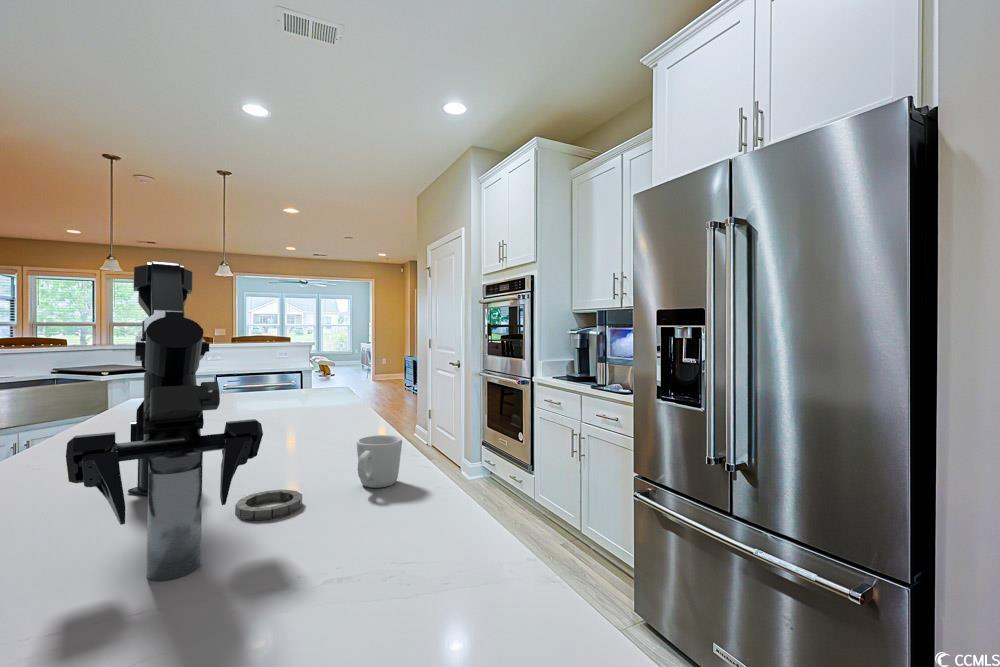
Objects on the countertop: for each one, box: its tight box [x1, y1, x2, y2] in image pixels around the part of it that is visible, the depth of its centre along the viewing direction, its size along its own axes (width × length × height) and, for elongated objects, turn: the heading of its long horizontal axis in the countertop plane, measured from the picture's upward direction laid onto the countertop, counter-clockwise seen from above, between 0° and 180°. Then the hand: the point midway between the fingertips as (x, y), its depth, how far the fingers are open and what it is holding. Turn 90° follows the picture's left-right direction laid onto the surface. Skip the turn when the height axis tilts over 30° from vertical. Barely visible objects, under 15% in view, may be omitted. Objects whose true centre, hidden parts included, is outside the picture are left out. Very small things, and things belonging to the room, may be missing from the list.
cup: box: [356, 434, 403, 489], centre depth 81 cm, size 11×8×8 cm
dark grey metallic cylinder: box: [146, 449, 204, 582], centre depth 52 cm, size 5×5×13 cm
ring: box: [234, 489, 303, 522], centre depth 70 cm, size 9×9×1 cm
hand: (176, 512), depth 51 cm, fingers open, 9 cm apart
